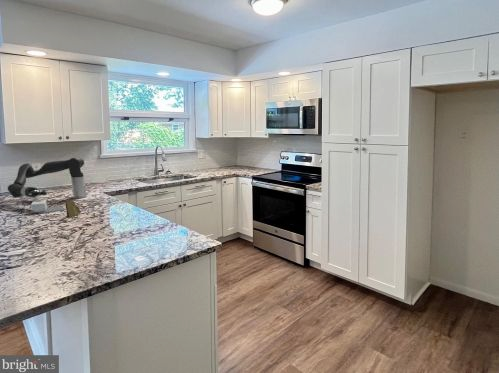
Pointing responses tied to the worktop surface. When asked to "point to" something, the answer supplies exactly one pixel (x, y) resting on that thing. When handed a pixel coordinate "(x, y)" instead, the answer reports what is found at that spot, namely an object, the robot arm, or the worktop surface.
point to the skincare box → (39, 206)
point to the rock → (71, 208)
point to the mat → (52, 209)
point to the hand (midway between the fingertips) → (45, 193)
